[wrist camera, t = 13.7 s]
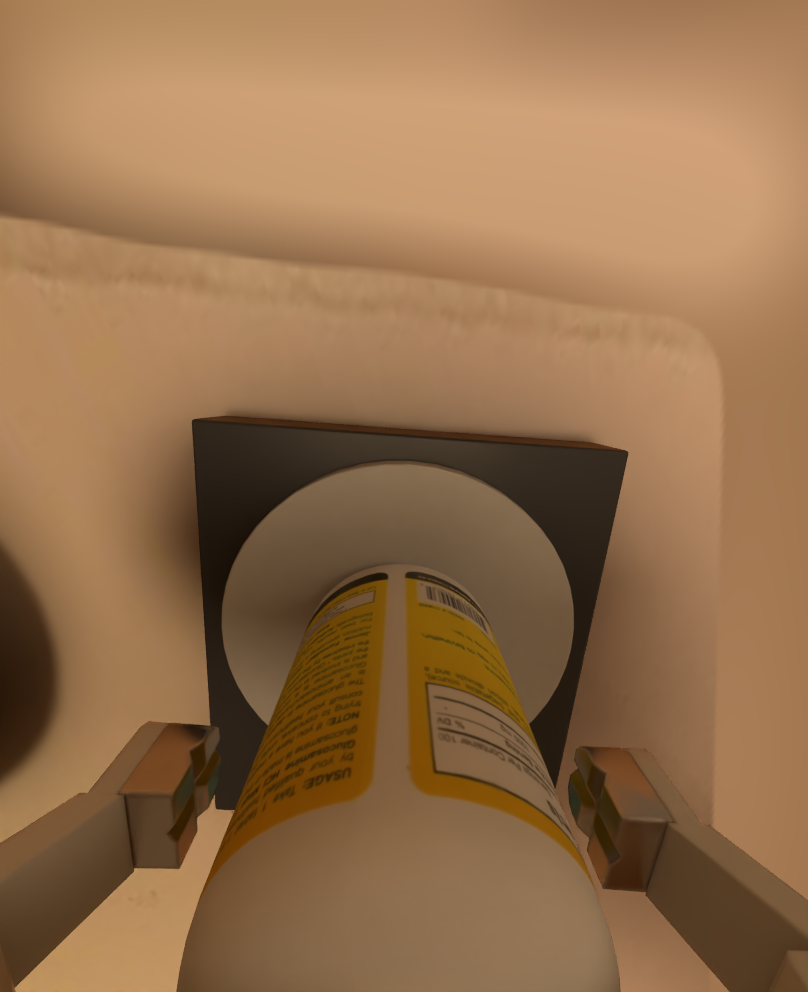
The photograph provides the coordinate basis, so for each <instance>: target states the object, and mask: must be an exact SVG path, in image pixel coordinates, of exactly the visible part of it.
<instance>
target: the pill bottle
mask: <svg viewBox="0 0 808 992" xmlns="http://www.w3.org/2000/svg"><path fill="white" fill-rule="evenodd" d="M177 992H620V978H619V971H618V964H617V957H616V953H615V949H614V945H613V940H612V937H611V934H610V931H609V927H608V924H607V921H606V918H605V915H604V912H603V909H602V906H601V903H600V900H599V898H598V895H597V893H596V890H595V888H594V885H593V883H592V880H591V877H590V875H589V872H588V870H587V867H586V865H585V862H584V860H583V857H582V855H581V853H580V850H579V847H578V845H577V843H576V841H575V838H574V836H573V833H572V831H571V828H570V825H569V823H568V820H567V818H566V816H565V814H564V811H563V808H562V806H561V803H560V801H559V798H558V796H557V793H556V791H555V788H554V785H553V783H552V780H551V778H550V776H549V773H548V770H547V768H546V765H545V763H544V761H543V758H542V756H541V753H540V751H539V748H538V746H537V743H536V741H535V738H534V736H533V733H532V731H531V728H530V725H529V723H528V720H527V718H526V715H525V713H524V710H523V708H522V705H521V703H520V700H519V697H518V695H517V692H516V690H515V687H514V685H513V682H512V680H511V677H510V675H509V672H508V669H507V667H506V664H505V662H504V659H503V657H502V655H501V652H500V649H499V646H498V644H497V642H496V639H495V637H494V634H493V631H492V629H491V627H490V624H489V622H488V620H487V618H486V616H485V614H484V612H483V610H482V609H481V607H480V605H479V604H478V602H477V601H476V600H475V598H474V597H473V596H472V595H471V594H470V593H469V592H468V591H467V590H466V589H465V588H464V587H463V586H462V585H460V584H459V583H458V582H456V581H455V580H453V579H452V578H450V577H448V576H447V575H444V574H442V573H440V572H438V571H435V570H433V569H430V568H426V567H422V566H417V565H411V564H388V565H380V566H376V567H372V568H368V569H365V570H362V571H360V572H358V573H355V574H353V575H351V576H350V577H348V578H346V579H345V580H343V581H342V582H340V583H339V584H338V585H337V586H335V587H334V588H333V589H332V590H331V591H330V592H329V593H328V594H327V595H326V596H325V597H324V599H323V600H322V601H321V603H320V604H319V605H318V607H317V609H316V610H315V612H314V614H313V616H312V618H311V620H310V622H309V624H308V626H307V629H306V631H305V634H304V636H303V639H302V641H301V644H300V646H299V649H298V651H297V654H296V657H295V659H294V662H293V664H292V667H291V669H290V671H289V674H288V677H287V679H286V682H285V684H284V687H283V689H282V692H281V694H280V697H279V699H278V702H277V704H276V706H275V709H274V712H273V715H272V717H271V720H270V722H269V725H268V727H267V730H266V732H265V735H264V737H263V740H262V742H261V745H260V747H259V750H258V752H257V755H256V757H255V760H254V763H253V765H252V768H251V771H250V773H249V775H248V778H247V780H246V783H245V785H244V788H243V790H242V793H241V796H240V798H239V801H238V803H237V806H236V808H235V811H234V813H233V816H232V818H231V821H230V823H229V826H228V828H227V831H226V833H225V836H224V838H223V841H222V843H221V846H220V848H219V851H218V853H217V856H216V858H215V861H214V863H213V866H212V868H211V871H210V873H209V876H208V878H207V881H206V883H205V886H204V888H203V891H202V893H201V896H200V898H199V902H198V905H197V908H196V911H195V914H194V917H193V920H192V923H191V926H190V929H189V932H188V935H187V939H186V943H185V947H184V952H183V957H182V961H181V966H180V972H179V978H178V985H177Z"/></svg>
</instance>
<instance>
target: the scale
mask: <svg viewBox="0 0 808 992" xmlns="http://www.w3.org/2000/svg"><path fill="white" fill-rule="evenodd" d="M192 431H193V447H194V463H195V480H196V496H197V512H198V528H199V545H200V561H201V577H202V594H203V610H204V626H205V642H206V659H207V675H208V691H209V707H210V724H211V726H215V727H218V728H219V736H220V741H219V743H218V745H217V747H216V749H215V750H216V751H217V752H218V754H219V755H220V756H221V771H220V778H219V781H218V785H217V788H216V791H215V805H216V809H221V810H235V808H236V806H237V803H238V801H239V798H240V796H241V793H242V790H243V788H244V785H245V783H246V780H247V778H248V775H249V773H250V771H251V768H252V765H253V763H254V760H255V757H256V755H257V752H258V750H259V747H260V745H261V742H262V740H263V737H264V735H265V732H266V730H267V727H268V725H269V722H270V720H271V717H272V715H273V712H274V709H275V706H276V704H277V702H278V699H279V697H280V694H281V692H282V689H283V687H284V684H285V682H286V679H287V677H288V674H289V671H290V669H291V667H292V664H293V662H294V659H295V657H296V654H297V651H298V649H299V646H300V644H301V641H302V639H303V636H304V634H305V631H306V629H307V626H308V624H309V622H310V620H311V618H312V616H313V614H314V612H315V610H316V609H317V607H318V605H319V604H320V603H321V601H322V600H323V599H324V597H325V596H326V595H327V594H328V593H329V592H330V591H331V590H332V589H333V588H334V587H335V586H337V585H338V584H339V583H340V582H342V581H343V580H345V579H346V578H348V577H350V576H351V575H353V574H355V573H358V572H360V571H362V570H365V569H368V568H372V567H376V566H380V565H388V564H411V565H417V566H422V567H426V568H430V569H433V570H435V571H438V572H440V573H442V574H444V575H447V576H448V577H450V578H452V579H453V580H455V581H456V582H458V583H459V584H460V585H462V586H463V587H464V588H465V589H466V590H467V591H468V592H469V593H470V594H471V595H472V596H473V597H474V598H475V600H476V601H477V602H478V604H479V605H480V607H481V609H482V610H483V612H484V614H485V616H486V618H487V620H488V622H489V624H490V627H491V629H492V631H493V634H494V637H495V639H496V642H497V644H498V646H499V649H500V652H501V655H502V657H503V659H504V662H505V664H506V667H507V669H508V672H509V675H510V677H511V680H512V682H513V685H514V687H515V690H516V692H517V695H518V697H519V700H520V703H521V705H522V708H523V710H524V713H525V715H526V718H527V720H528V723H529V725H530V728H531V731H532V733H533V736H534V738H535V741H536V743H537V746H538V748H539V751H540V753H541V756H542V758H543V761H544V763H545V765H546V768H547V770H548V773H549V776H550V778H551V780H552V783H553V785H554V788H555V789H556V784H557V779H558V775H559V770H560V766H561V761H562V756H563V752H564V747H565V743H566V738H567V733H568V729H569V724H570V720H571V715H572V710H573V706H574V701H575V697H576V692H577V687H578V683H579V678H580V674H581V669H582V664H583V660H584V655H585V651H586V646H587V641H588V637H589V632H590V628H591V623H592V618H593V614H594V609H595V605H596V600H597V595H598V591H599V586H600V582H601V577H602V572H603V568H604V563H605V559H606V554H607V549H608V545H609V540H610V536H611V531H612V526H613V522H614V517H615V513H616V508H617V503H618V499H619V494H620V490H621V485H622V480H623V476H624V471H625V467H626V462H627V457H628V452H627V451H625V450H621V449H617V448H613V447H609V446H604V445H600V444H596V443H589V442H575V441H562V440H548V439H535V438H521V437H507V436H494V435H480V434H467V433H453V432H439V431H426V430H412V429H399V428H385V427H371V426H358V425H344V424H330V423H317V422H303V421H290V420H276V419H262V418H249V417H235V416H219V417H210V418H200V419H194V420H192Z"/></svg>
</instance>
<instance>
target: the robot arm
mask: <svg viewBox="0 0 808 992" xmlns="http://www.w3.org/2000/svg"><path fill="white" fill-rule="evenodd" d="M219 741H220V736H219V728H218V727H215V726H205V725H193V724H181V723H164V722H152V721H148V722H147V723H145V724H144V725H142V726H141V727H140V728H139V729H138V731H137V732H136V733H135V734H134V736H133V737H132V738H131V739H130V741H129V742H128V743H127V744H126V746H125V747H124V748H123V749H122V751H121V752H120V753H119V754H118V756H117V757H116V758H115V759H114V761H113V762H112V763H111V764H110V766H109V767H108V768H107V769H106V771H105V772H104V773H103V774H102V776H101V777H100V778H99V779H98V781H97V782H96V783H95V784H94V786H93V787H92V788H91V789H90V791H89V792H88V793H79V794H77V795H76V796H74V797H73V798H71V799H69V800H68V801H66V802H65V803H63V804H62V805H60V806H58V807H57V808H55V809H54V810H52V811H51V812H49V813H47V814H46V815H44V816H43V817H41V818H39V819H38V820H36V821H35V822H33V823H32V824H30V825H28V826H27V827H25V828H24V829H22V830H21V831H19V832H17V833H16V834H14V835H13V836H11V837H9V838H8V839H6V840H5V841H3V842H2V843H0V992H16V991H15V987H16V986H17V985H18V984H19V983H20V982H21V981H22V980H23V979H24V978H25V977H26V976H27V975H28V974H29V973H30V972H31V971H32V970H33V969H34V968H35V967H36V966H37V965H38V964H39V963H40V962H41V961H43V960H44V959H45V958H46V957H47V956H48V955H49V954H50V953H51V952H52V951H53V950H54V949H55V948H56V947H57V946H58V945H59V944H60V943H61V942H62V941H63V940H64V939H65V938H66V937H67V936H68V935H69V934H70V933H71V932H72V931H73V930H74V929H75V928H76V927H77V926H78V925H79V924H80V923H81V922H83V921H84V920H85V919H86V918H87V917H88V916H89V915H90V914H91V913H92V912H93V911H94V910H95V909H96V908H97V907H98V906H99V905H100V904H101V903H102V902H103V901H104V900H105V899H106V898H107V897H108V896H109V895H110V894H111V893H112V892H113V891H114V890H115V889H116V888H117V887H118V886H119V885H120V884H121V883H122V882H124V881H125V880H126V879H127V878H128V877H129V876H130V875H131V874H132V873H133V872H134V868H167V869H180V866H181V864H182V862H183V860H184V858H185V856H186V854H187V852H188V850H189V848H190V845H191V843H192V841H193V839H194V837H195V835H196V833H197V817H198V816H199V815H200V814H202V813H203V812H204V811H205V810H206V809H208V807H209V805H210V803H211V801H212V799H213V796H214V794H215V791H216V788H217V785H218V781H219V778H220V771H221V756H220V755H219V754H218V752H217V751H216V750H215V749H216V747H217V745H218V743H219ZM574 761H575V763H576V766H577V769H576V770H575V771H574V772H573V773H572V774H571V775H570V778H569V784H568V795H569V803H570V807H571V811H572V814H573V817H574V820H575V822H576V825H577V827H578V828H579V829H580V830H581V831H582V832H583V833H584V834H585V835H586V836H587V837H588V838H589V842H588V847H587V852H588V854H589V856H590V859H591V861H592V864H593V866H594V868H595V871H596V873H597V876H598V878H599V880H600V883H601V885H602V888H603V889H613V890H626V891H638V892H646V896H647V897H648V898H649V899H650V901H651V902H652V903H653V904H654V905H655V906H656V908H657V909H658V910H659V911H660V912H661V913H662V914H663V916H664V917H665V918H666V919H667V920H668V921H669V922H670V924H671V925H672V926H673V927H674V928H675V929H676V931H677V932H678V933H679V934H680V935H681V936H682V937H683V939H684V940H685V941H686V942H687V943H688V944H689V945H690V947H691V948H692V949H693V950H694V951H695V952H696V954H697V955H698V956H699V957H700V958H701V959H702V960H703V962H704V963H705V964H706V965H707V966H708V967H709V968H710V970H711V971H712V972H713V973H714V974H715V975H716V976H717V977H718V979H719V980H720V981H721V982H722V983H723V985H724V986H725V987H726V988H727V989H728V990H729V991H730V992H808V900H807V899H805V898H804V897H803V896H802V895H800V894H799V893H797V892H796V891H795V890H794V889H792V888H791V887H790V886H788V885H787V884H786V883H784V882H783V881H782V880H780V879H779V878H778V877H777V876H775V875H774V874H773V873H771V872H770V871H768V870H767V869H766V868H765V867H763V866H762V865H761V864H760V863H758V862H757V861H755V860H754V859H753V858H752V857H750V856H749V855H748V854H746V853H745V852H744V851H742V850H741V849H740V848H739V847H737V846H736V845H735V844H733V843H732V842H731V841H729V840H728V839H727V838H725V837H724V836H723V835H721V834H720V833H719V832H717V831H716V830H715V829H714V828H712V827H711V826H710V825H702V824H701V823H700V821H699V820H698V818H697V817H696V816H695V814H694V813H693V811H692V810H691V809H690V807H689V806H688V804H687V803H686V801H685V800H684V799H683V797H682V796H681V794H680V793H679V792H678V790H677V789H676V787H675V786H674V785H673V783H672V782H671V780H670V779H669V777H668V776H667V775H666V773H665V772H664V770H663V769H662V768H661V766H660V765H659V763H658V762H657V761H656V759H655V758H654V756H653V755H652V754H651V753H650V752H649V751H647V750H646V749H631V748H623V749H622V748H612V747H589V746H579V747H578V748H577V750H576V752H575V756H574Z"/></svg>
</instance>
